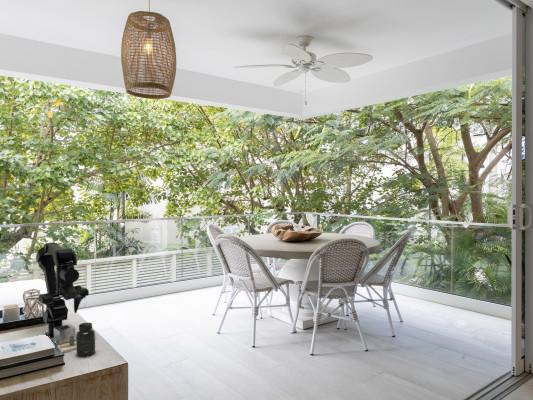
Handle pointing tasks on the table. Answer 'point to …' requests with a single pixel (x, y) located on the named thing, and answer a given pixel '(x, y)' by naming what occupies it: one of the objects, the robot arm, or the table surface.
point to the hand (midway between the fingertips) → (64, 315)
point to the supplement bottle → (85, 340)
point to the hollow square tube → (64, 334)
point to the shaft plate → (69, 345)
